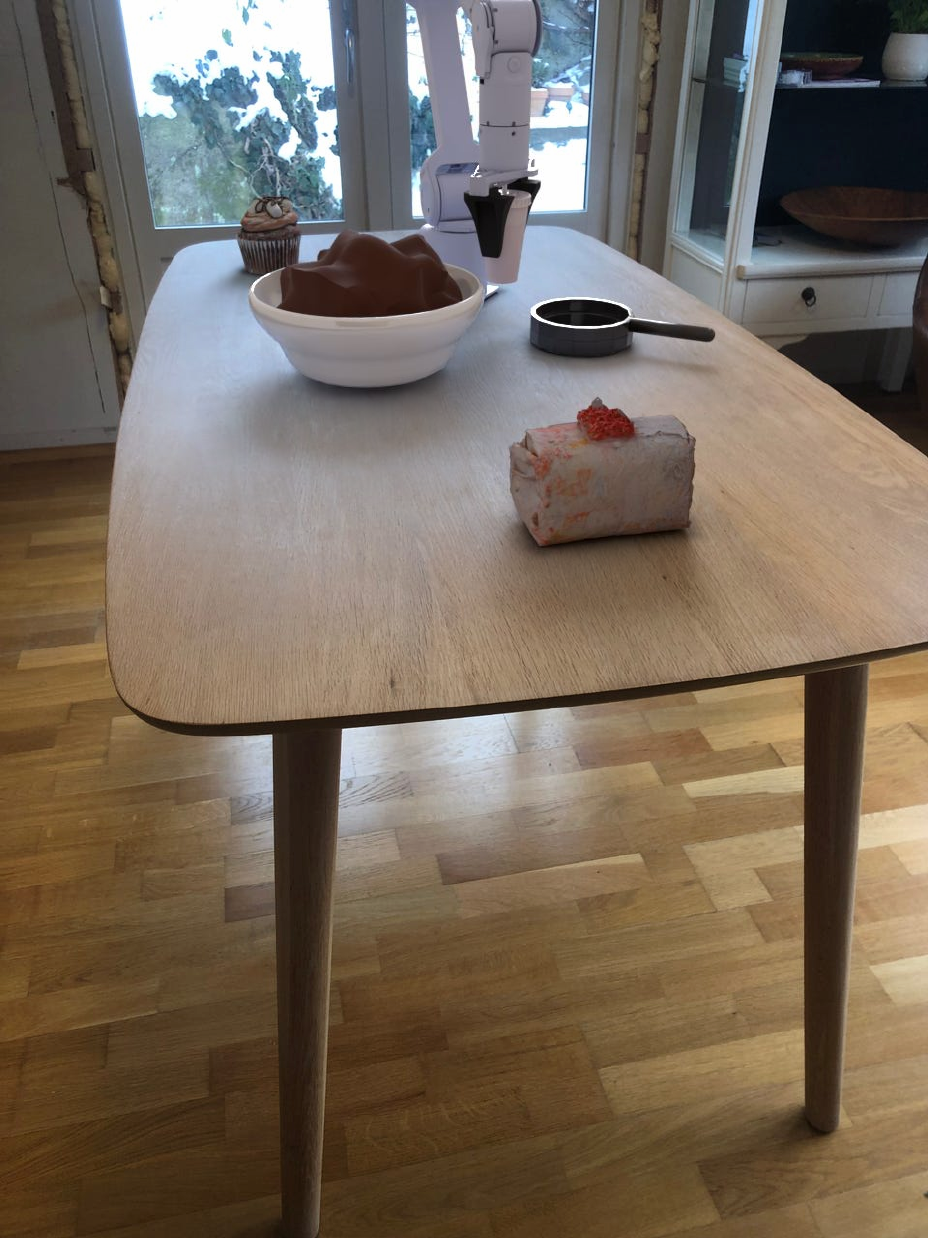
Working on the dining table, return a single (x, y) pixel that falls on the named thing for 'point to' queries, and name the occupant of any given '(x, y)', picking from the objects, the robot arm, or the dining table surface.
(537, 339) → the pan
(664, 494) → the food item
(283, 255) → the cupcake
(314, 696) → the dining table surface
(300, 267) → the bowl of chocolate mousse
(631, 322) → the pan handle
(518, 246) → the smoothie
